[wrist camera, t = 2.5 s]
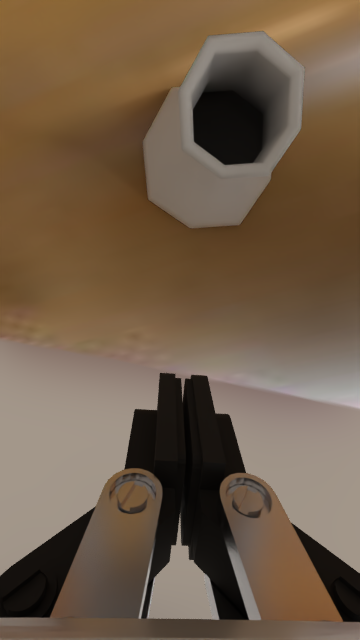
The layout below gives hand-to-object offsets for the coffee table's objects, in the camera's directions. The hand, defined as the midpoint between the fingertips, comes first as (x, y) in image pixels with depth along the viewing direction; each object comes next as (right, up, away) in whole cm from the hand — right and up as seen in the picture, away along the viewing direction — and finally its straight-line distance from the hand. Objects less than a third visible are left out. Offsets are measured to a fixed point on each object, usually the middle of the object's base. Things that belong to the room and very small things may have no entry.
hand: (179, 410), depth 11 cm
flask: (+1, +12, +6) cm, 14 cm away
